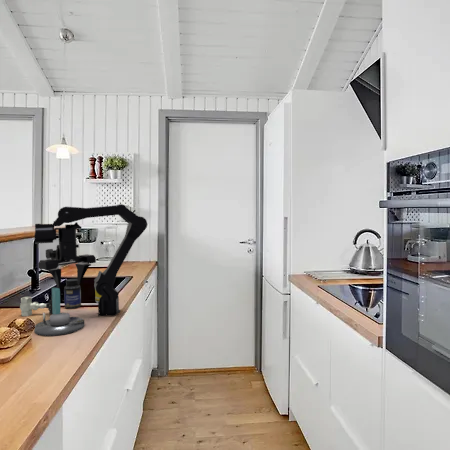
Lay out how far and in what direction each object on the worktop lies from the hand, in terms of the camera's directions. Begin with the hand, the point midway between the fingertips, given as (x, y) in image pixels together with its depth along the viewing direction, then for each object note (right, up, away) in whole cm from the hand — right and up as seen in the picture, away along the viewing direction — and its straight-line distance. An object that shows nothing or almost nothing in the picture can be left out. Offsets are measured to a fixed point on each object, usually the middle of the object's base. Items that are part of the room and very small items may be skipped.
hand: (69, 285), depth 128 cm
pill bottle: (-6, -12, +16) cm, 21 cm away
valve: (-15, -12, +7) cm, 20 cm away
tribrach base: (+1, -12, -10) cm, 16 cm away
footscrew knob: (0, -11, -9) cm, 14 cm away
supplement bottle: (+3, -11, +24) cm, 27 cm away
